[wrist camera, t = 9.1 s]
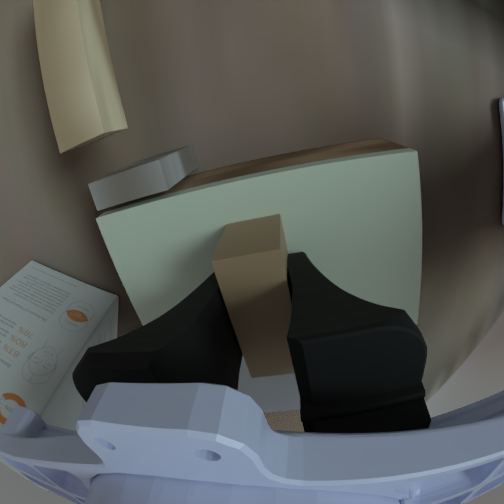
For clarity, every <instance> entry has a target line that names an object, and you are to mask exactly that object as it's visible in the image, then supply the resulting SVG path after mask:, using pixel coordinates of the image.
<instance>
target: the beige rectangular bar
mask: <svg viewBox="0 0 504 504" xmlns="http://www.w3.org/2000/svg"><path fill="white" fill-rule="evenodd" d="M33 4H34V18H35V29H36V38H37V46H38V54H39V60H40V67H41V73H42V78H43V84H44V89H45V94H46V99H47V103H48V108H49V112H50V117H51V121H52V125H53V129H54V133H55V137H56V140H57V144H58V148H59V151H60V154H61V153H64V152H67V151H70V150H74V149H77V148H80V147H84V146H87V145H89V144H91V143H93V142H96V141H98V140H100V139H103V138H105V137H107V136H110V135H112V134H115V133H117V132H119V131H122V130H124V129H127V128H128V126H127V122H126V119H125V115H124V111H123V107H122V103H121V100H120V96H119V91H118V87H117V83H116V79H115V75H114V70H113V66H112V62H111V57H110V52H109V48H108V43H107V38H106V33H105V27H104V22H103V16H102V11H101V5H100V0H33Z"/></svg>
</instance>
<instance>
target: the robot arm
mask: <svg viewBox="0 0 504 504" xmlns="http://www.w3.org/2000/svg"><path fill="white" fill-rule="evenodd" d="M499 110H500V119H501V130H502V144H503V209H502V224H503V225H504V97H502V98H501V99H500V100H499ZM287 266H288V271H289V275H290V280H291V285H292V311H291V319H290V325H289V330H288V334H287V342H288V346H289V350H290V355H291V359H292V364H293V368H294V373H295V377H296V382H297V386H298V391H299V395H300V415H301V422H303V427H304V431H305V432H295V431H282V430H272V429H271V428H270V427H269V425H268V423H267V421H266V418H265V416H264V413H263V410H262V409H261V408H260V407H259V406H258V405H257V404H256V403H255V401H254V400H253V399H252V398H251V397H250V396H249V395H247V394H245V393H242V392H240V391H238V381H239V373H240V367H241V361H242V356H243V354H242V351H241V348H240V345H239V342H238V340H237V337H236V334H235V331H234V328H233V325H232V322H231V320H230V317H229V314H228V311H227V308H226V305H225V302H224V299H223V296H222V293H221V290H220V287H219V284H218V281H217V278H216V275H215V272H213V273H212V274H211V275H210V276H209V277H208V278H207V279H206V280H205V281H204V282H203V283H201V284H200V285H199V286H198V287H197V288H196V289H195V290H194V291H193V292H191V293H190V294H189V295H188V296H187V297H186V298H184V299H183V300H182V301H181V302H180V303H178V304H177V305H176V306H174V307H173V308H172V309H170V310H169V311H167V312H166V313H164V314H163V315H161V316H160V317H158V318H156V319H155V320H153V321H151V322H149V323H147V324H146V325H144V326H142V327H140V328H138V329H136V330H134V331H132V332H130V333H128V334H125V335H123V336H121V337H118V338H116V339H113V340H110V341H107V342H104V343H101V344H98V345H95V346H92V347H89V348H88V349H87V350H86V352H85V354H84V355H83V357H82V358H81V360H80V361H79V363H78V364H77V366H76V367H75V369H74V371H73V373H72V378H73V382H74V385H75V387H76V389H77V391H78V392H79V394H80V395H81V397H82V398H83V399H84V400H85V402H86V405H85V407H84V409H83V411H82V413H81V415H80V416H79V418H78V420H77V424H76V431H73V430H69V429H65V428H61V427H57V426H53V425H49V424H46V423H45V421H44V420H43V419H42V418H41V417H40V416H39V415H38V414H37V413H36V412H35V411H33V410H31V409H29V408H25V407H22V406H18V405H16V406H15V408H14V409H13V411H12V412H11V414H10V416H9V417H8V419H7V420H6V422H5V424H4V425H3V427H2V428H1V430H0V456H1V457H2V458H3V459H4V460H5V461H6V462H8V463H9V464H10V465H11V466H12V467H14V468H15V469H16V470H17V471H18V472H20V473H21V474H22V475H23V476H25V477H26V478H27V479H29V480H30V481H31V482H33V483H35V484H37V485H39V486H41V487H43V488H45V489H47V490H49V491H51V492H53V493H55V494H57V495H59V496H61V497H63V498H66V499H68V500H70V501H72V502H74V503H76V504H464V503H466V502H468V501H470V500H472V499H474V498H476V497H478V496H480V495H482V494H484V493H486V492H488V491H490V490H492V489H493V488H495V487H497V486H499V485H501V484H502V483H504V391H501V392H499V393H497V394H495V395H493V396H490V397H488V398H485V399H483V400H480V401H478V402H475V403H473V404H470V405H467V406H465V407H462V408H459V409H456V410H454V411H451V412H448V413H445V414H442V415H439V416H435V417H432V418H430V415H429V412H428V409H427V406H426V403H425V400H424V397H425V389H424V387H423V384H422V378H423V373H424V368H425V363H426V358H427V346H426V343H425V341H424V338H423V336H422V334H421V332H420V330H419V329H418V327H417V326H416V324H415V323H414V322H413V320H412V319H411V318H410V316H409V315H408V314H407V312H406V311H405V310H403V309H398V308H392V307H387V306H382V305H379V304H375V303H372V302H369V301H366V300H363V299H361V298H359V297H356V296H354V295H352V294H350V293H348V292H346V291H344V290H343V289H341V288H339V287H338V286H336V285H335V284H334V283H332V282H331V281H330V280H329V279H328V278H326V277H325V276H324V275H323V274H322V273H321V272H320V271H319V270H318V269H317V268H316V267H315V266H314V265H313V263H312V262H311V261H310V260H309V258H308V257H307V255H306V253H304V252H297V253H291V254H288V256H287Z"/></svg>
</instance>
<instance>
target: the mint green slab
mask: <svg viewBox="0 0 504 504" xmlns="http://www.w3.org/2000/svg"><path fill="white" fill-rule="evenodd" d="M96 221H97V223H98V226H99V229H100V231H101V234H102V236H103V239H104V241H105V244H106V246H107V249H108V251H109V254H110V256H111V258H112V261H113V263H114V265H115V268H116V270H117V272H118V274H119V277H120V279H121V281H122V283H123V286H124V288H125V290H126V292H127V294H128V296H129V298H130V301H131V303H132V305H133V307H134V309H135V311H136V313H137V315H138V317H139V319H140V321H141V323H142V325H143V326H144V325H146V324H147V323H149V322H151V321H153V320H155V319H156V318H158V317H160V316H161V315H163V314H164V313H166V312H167V311H169V310H170V309H172V308H173V307H174V306H176V305H177V304H178V303H180V302H181V301H182V300H183V299H184V298H186V297H187V296H188V295H189V294H190V293H191V292H193V291H194V290H195V289H196V288H197V287H198V286H199V285H200V284H201V283H203V282H204V281H205V280H206V279H207V278H208V277H209V276H210V275H211V274H212V273H213V272H215V275H216V278H217V281H218V284H219V287H220V290H221V293H222V296H223V299H224V302H225V305H226V308H227V311H228V314H229V317H230V320H231V322H232V325H233V328H234V331H235V334H236V337H237V340H238V342H239V345H240V348H241V351H242V354H243V356H244V359H245V362H246V365H247V367H248V370H249V373H250V376H251V378H257V377H267V376H276V375H285V374H293V373H294V368H293V364H292V359H291V355H290V350H289V346H288V342H287V334H288V330H289V325H290V319H291V311H292V285H291V280H290V275H289V271H288V266H287V256H288V254H291V253H297V252H304V253H306V255H307V257H308V258H309V260H310V261H311V262H312V263H313V265H314V266H315V267H316V268H317V269H318V270H319V271H320V272H321V273H322V274H323V275H324V276H325V277H326V278H328V279H329V280H330V281H331V282H332V283H334V284H335V285H336V286H338V287H339V288H341V289H343V290H344V291H346V292H348V293H350V294H352V295H354V296H356V297H359V298H361V299H363V300H366V301H369V302H372V303H375V304H379V305H382V306H387V307H392V308H398V309H403V310H405V311H406V312H407V314H408V315H409V316H410V318H411V319H412V320H413V322H414V323H415V324H418V314H419V303H420V289H421V269H422V207H421V187H420V173H419V162H418V152H417V151H416V150H413V149H410V148H406V149H397V150H389V151H381V152H374V153H366V154H360V155H353V156H346V157H340V158H334V159H327V160H321V161H316V162H310V163H304V164H299V165H293V166H288V167H283V168H278V169H273V170H268V171H263V172H258V173H253V174H249V175H244V176H240V177H235V178H231V179H226V180H222V181H218V182H213V183H209V184H205V185H201V186H197V187H193V188H189V189H185V190H181V191H177V192H173V193H169V194H166V195H162V196H158V197H155V198H151V199H147V200H144V201H140V202H137V203H133V204H130V205H127V206H123V207H120V208H116V209H113V210H110V211H107V212H104V213H103V214H101V215H100V216H98V217H97V218H96Z"/></svg>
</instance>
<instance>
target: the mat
mask: <svg viewBox="0 0 504 504" xmlns="http://www.w3.org/2000/svg"><path fill="white" fill-rule="evenodd" d="M238 391H240V392H242V393H245V394H247V395H249V396H250V397H251V398H252V399H253V400H254V401H255V403H256V404H257V405H258V406H259V407H260V408H261V409H262V410H263V413H269V412H280V411H290V410H299V409H300V395H299V391H298V386H297V382H296V377H295V373H293V374H285V375H276V376H267V377H257V378H251V376H250V373H249V370H248V367H247V365H246V362H245V359H244V356H242V361H241V367H240V373H239V381H238Z"/></svg>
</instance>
